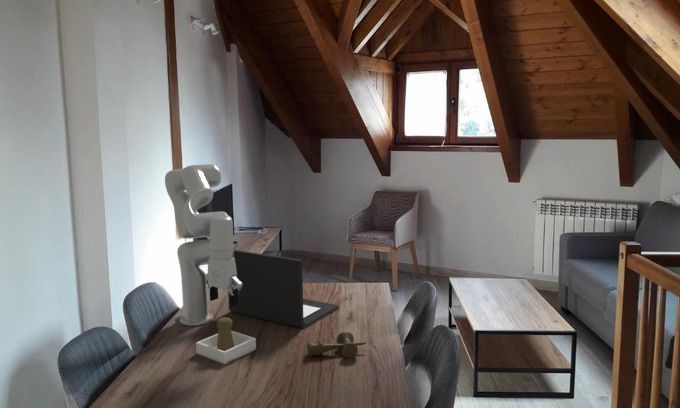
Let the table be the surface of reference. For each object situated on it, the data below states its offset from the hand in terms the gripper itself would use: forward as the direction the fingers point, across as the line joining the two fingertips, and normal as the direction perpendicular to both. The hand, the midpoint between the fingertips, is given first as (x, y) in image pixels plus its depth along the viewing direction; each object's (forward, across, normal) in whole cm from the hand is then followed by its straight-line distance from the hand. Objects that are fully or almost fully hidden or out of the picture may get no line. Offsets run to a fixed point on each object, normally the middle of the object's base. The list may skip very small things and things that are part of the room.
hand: (223, 302), depth 178 cm
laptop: (+18, -10, +41) cm, 46 cm away
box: (+17, +1, 0) cm, 17 cm away
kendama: (+17, +33, +20) cm, 42 cm away
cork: (+17, 0, 0) cm, 17 cm away
